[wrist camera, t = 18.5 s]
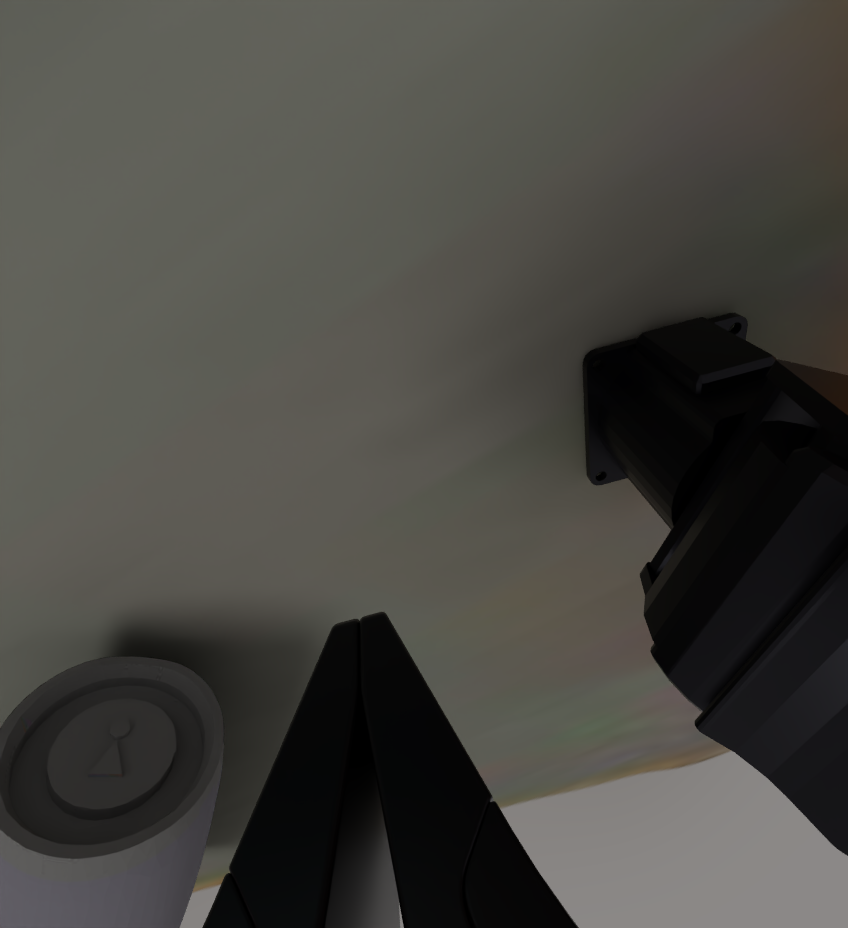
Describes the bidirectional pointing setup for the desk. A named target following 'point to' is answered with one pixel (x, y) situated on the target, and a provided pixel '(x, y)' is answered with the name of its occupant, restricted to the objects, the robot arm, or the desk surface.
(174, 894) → the bluetooth speaker
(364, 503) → the desk surface
